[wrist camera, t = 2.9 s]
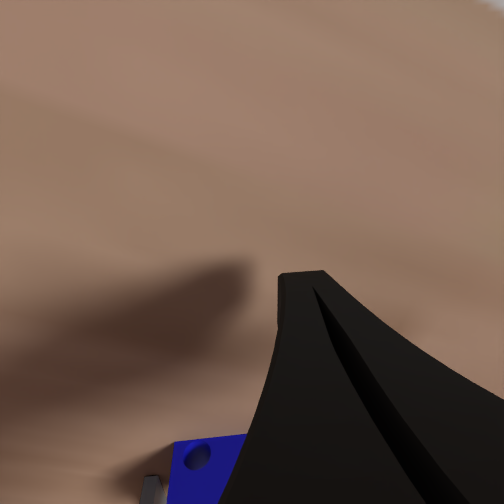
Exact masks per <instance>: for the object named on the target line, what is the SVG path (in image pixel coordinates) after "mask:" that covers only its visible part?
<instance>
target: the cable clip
mask: <svg viewBox="0 0 504 504" xmlns="http://www.w3.org/2000/svg"><path fill="white" fill-rule="evenodd" d="M246 436H247V434H240V435H231V436H222V437H213V438H205V439H196V440H187V441H178V442H175V443H174V450H173V458H172V466H171V473H170V481H169V488H168V496H167V503H166V504H217V503H218V501H219V499H220V497H221V495H222V493H223V491H224V488H225V486H226V484H227V482H228V479H229V477H230V475H231V473H232V470H233V468H234V465H235V463H236V460H237V458H238V455H239V453H240V450H241V448H242V445H243V443H244V441H245V438H246Z"/></svg>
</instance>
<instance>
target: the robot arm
mask: <svg viewBox="0 0 504 504" xmlns="http://www.w3.org/2000/svg"><path fill="white" fill-rule="evenodd" d="M277 324H278V331H277V336H276V341H275V347H274V351H273V355H272V359H271V363H270V367H269V371H268V374H267V378H266V381H265V384H264V388H263V391H262V394H261V397H260V400H259V403H258V406H257V409H256V412H255V414H254V417H253V420H252V423H251V425H250V428H249V431H248V433H247V436H246V438H245V441H244V443H243V445H242V448H241V450H240V453H239V455H238V458H237V460H236V463H235V465H234V468H233V470H232V473H231V475H230V477H229V479H228V482H227V484H226V486H225V488H224V491H223V493H222V495H221V497H220V499H219V501H218V503H217V504H504V400H503V399H502V398H500V397H498V396H496V395H495V394H493V393H491V392H489V391H487V390H486V389H484V388H482V387H480V386H479V385H477V384H475V383H473V382H472V381H470V380H468V379H467V378H465V377H463V376H462V375H460V374H458V373H457V372H455V371H453V370H452V369H450V368H449V367H447V366H446V365H444V364H442V363H441V362H439V361H438V360H436V359H435V358H433V357H432V356H430V355H429V354H427V353H425V352H424V351H422V350H421V349H420V348H418V347H417V346H415V345H414V344H412V343H411V342H410V341H408V340H407V339H405V338H404V337H403V336H401V335H400V334H399V333H397V332H396V331H395V330H393V329H392V328H391V327H389V326H388V325H387V324H385V323H384V322H383V321H382V320H380V319H379V318H378V317H377V316H375V315H374V314H373V313H372V312H370V311H369V310H368V309H367V308H366V307H364V306H363V305H362V304H361V303H360V302H359V301H357V300H356V299H355V298H354V297H353V296H352V295H351V294H349V293H348V292H347V291H346V290H345V289H344V288H343V287H342V286H340V285H339V284H338V283H337V282H336V281H335V280H334V279H333V278H332V277H331V276H329V275H328V274H327V273H326V272H325V271H324V270H319V271H305V272H292V273H282V274H280V275H279V276H278V311H277Z"/></svg>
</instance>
